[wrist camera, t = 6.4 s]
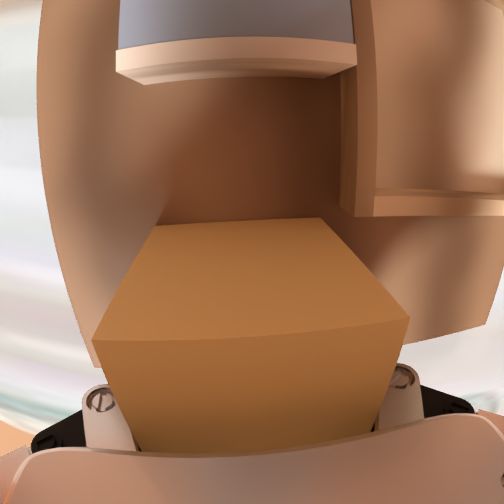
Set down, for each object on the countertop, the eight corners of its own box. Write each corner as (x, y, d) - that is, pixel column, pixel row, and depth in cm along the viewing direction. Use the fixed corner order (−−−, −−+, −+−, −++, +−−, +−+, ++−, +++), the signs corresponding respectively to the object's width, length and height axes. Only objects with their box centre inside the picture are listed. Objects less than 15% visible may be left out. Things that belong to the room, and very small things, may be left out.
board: (470, -76, 6) (509, -94, 2) (474, 314, 16) (513, 352, 12) (86, -114, 5) (60, -150, 1) (100, 352, 15) (76, 412, 11)
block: (320, 217, 11) (410, 317, 6) (308, 361, 14) (347, 480, 8) (154, 226, 11) (91, 340, 5) (180, 370, 14) (168, 495, 8)
